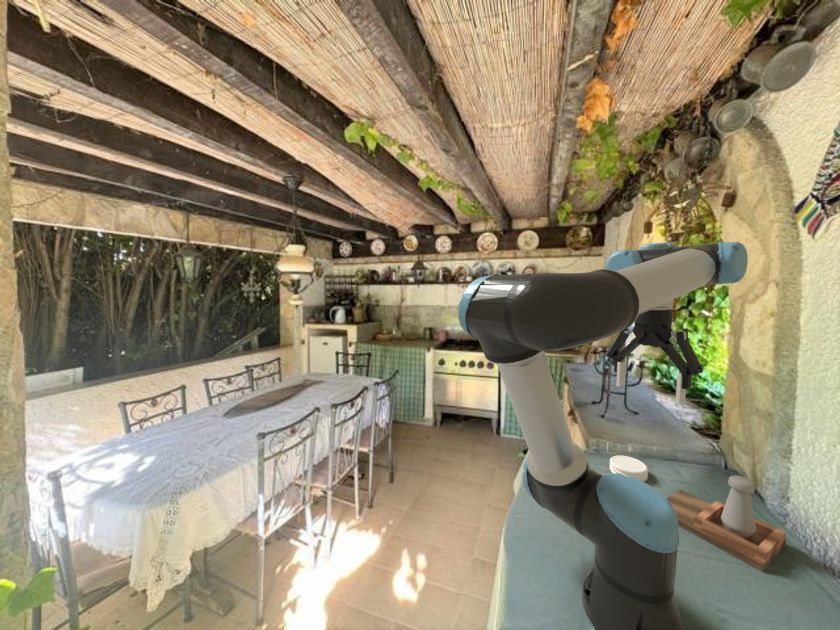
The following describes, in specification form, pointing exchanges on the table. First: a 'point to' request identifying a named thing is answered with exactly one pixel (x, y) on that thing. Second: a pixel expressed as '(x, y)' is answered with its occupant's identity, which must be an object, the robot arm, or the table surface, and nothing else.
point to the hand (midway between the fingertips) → (648, 393)
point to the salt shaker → (739, 508)
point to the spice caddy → (710, 527)
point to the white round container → (628, 467)
